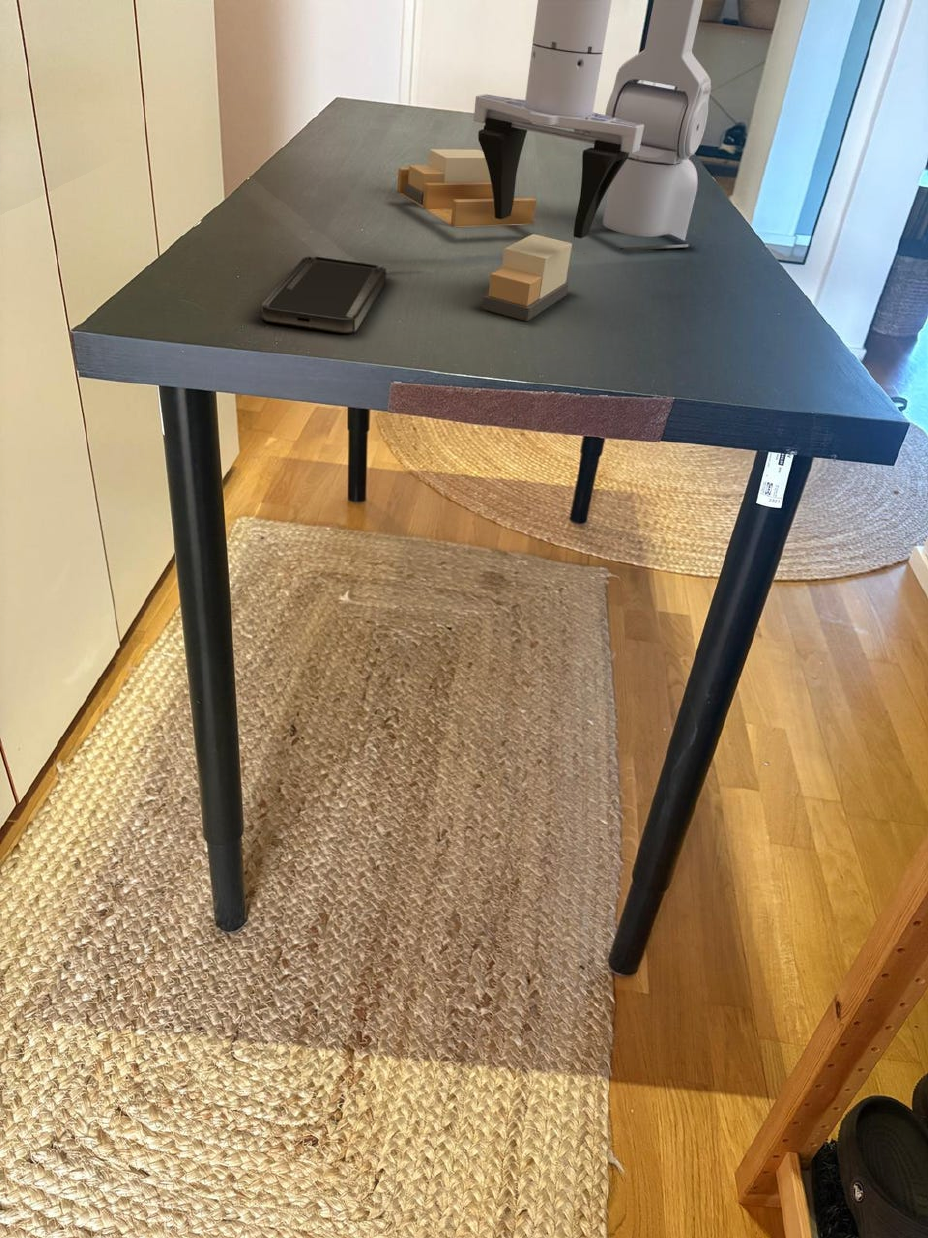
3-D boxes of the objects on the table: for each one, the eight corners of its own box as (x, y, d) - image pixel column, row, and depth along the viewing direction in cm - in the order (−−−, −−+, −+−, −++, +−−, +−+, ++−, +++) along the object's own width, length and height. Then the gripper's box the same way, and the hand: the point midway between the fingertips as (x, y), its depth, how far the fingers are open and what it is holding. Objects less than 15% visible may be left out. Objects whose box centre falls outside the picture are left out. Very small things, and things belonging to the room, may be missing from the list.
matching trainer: (476, 192, 110) (481, 148, 107) (494, 202, 107) (499, 157, 104) (404, 194, 106) (406, 148, 103) (421, 204, 103) (424, 157, 100)
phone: (388, 266, 85) (354, 320, 73) (387, 279, 85) (353, 334, 74) (304, 254, 85) (257, 306, 73) (304, 267, 86) (257, 320, 74)
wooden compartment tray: (470, 202, 112) (474, 167, 110) (531, 237, 102) (536, 199, 100) (396, 204, 108) (398, 167, 105) (452, 240, 98) (456, 201, 96)
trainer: (525, 283, 89) (532, 232, 86) (567, 294, 88) (575, 242, 85) (482, 309, 82) (488, 254, 79) (527, 321, 81) (535, 265, 78)
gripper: (465, 35, 73) (449, 216, 81) (637, 65, 68) (601, 253, 77) (502, 32, 78) (483, 202, 86) (664, 60, 74) (628, 237, 82)
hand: (541, 225), depth 82 cm, fingers open, 7 cm apart
